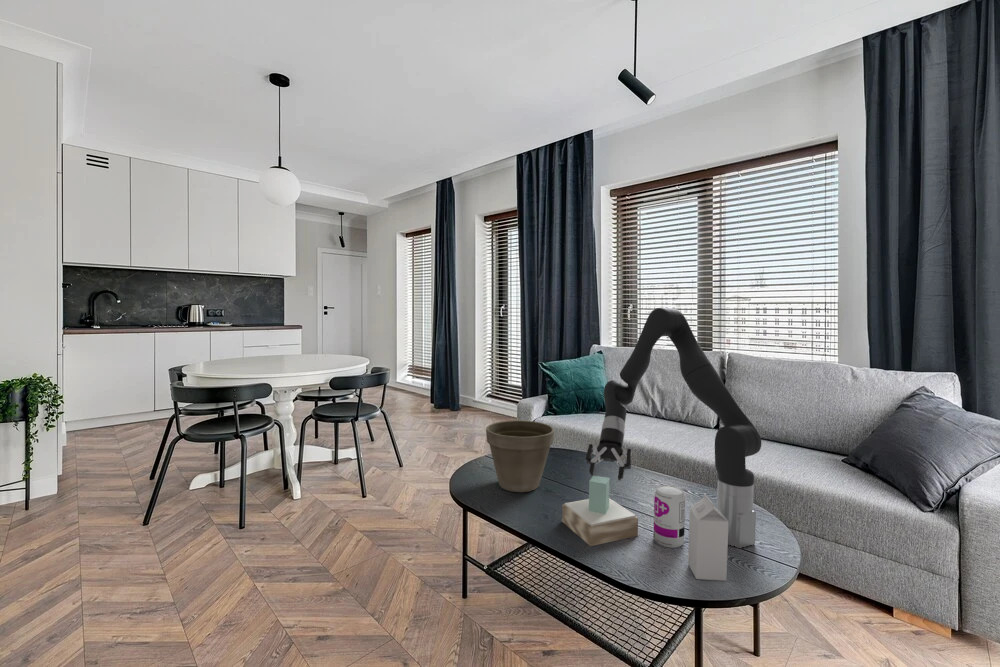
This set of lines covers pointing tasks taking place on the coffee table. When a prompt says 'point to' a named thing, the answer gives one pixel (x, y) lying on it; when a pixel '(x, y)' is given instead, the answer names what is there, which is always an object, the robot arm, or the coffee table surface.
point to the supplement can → (669, 516)
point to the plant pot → (519, 452)
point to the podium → (599, 522)
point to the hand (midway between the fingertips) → (605, 477)
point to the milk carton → (707, 541)
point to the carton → (599, 494)
